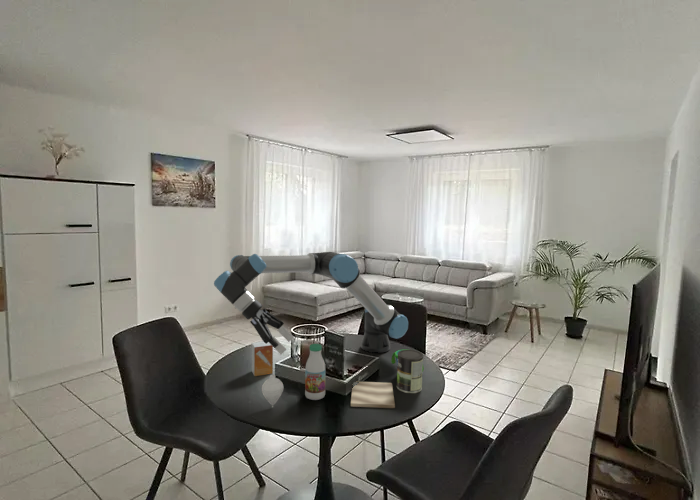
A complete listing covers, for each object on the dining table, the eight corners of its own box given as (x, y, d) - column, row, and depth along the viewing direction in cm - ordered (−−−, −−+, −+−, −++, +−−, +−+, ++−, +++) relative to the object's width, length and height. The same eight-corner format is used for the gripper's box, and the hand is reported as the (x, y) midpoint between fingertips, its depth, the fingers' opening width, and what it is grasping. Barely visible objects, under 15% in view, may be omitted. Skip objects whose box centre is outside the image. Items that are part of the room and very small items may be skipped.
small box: (254, 376, 163) (254, 347, 162) (251, 371, 169) (251, 342, 167) (273, 373, 166) (273, 344, 165) (269, 368, 172) (269, 340, 171)
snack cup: (385, 373, 169) (385, 350, 168) (401, 367, 176) (402, 345, 175) (412, 385, 157) (412, 361, 156) (428, 379, 164) (429, 356, 163)
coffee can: (397, 393, 151) (398, 358, 149) (395, 381, 161) (396, 348, 160) (423, 394, 150) (425, 359, 149) (420, 382, 160) (421, 349, 159)
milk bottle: (304, 391, 150) (304, 342, 148) (323, 390, 152) (324, 341, 150) (306, 401, 143) (306, 349, 141) (326, 399, 144) (327, 348, 142)
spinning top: (278, 400, 143) (278, 369, 142) (286, 409, 137) (286, 377, 136) (258, 405, 139) (258, 373, 138) (266, 415, 133) (266, 381, 132)
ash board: (352, 384, 158) (352, 381, 158) (391, 385, 157) (391, 382, 157) (350, 406, 140) (350, 403, 140) (394, 408, 139) (394, 405, 139)
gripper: (251, 304, 158) (287, 340, 159) (229, 321, 133) (272, 365, 134) (264, 292, 157) (300, 328, 158) (244, 307, 132) (287, 350, 133)
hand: (287, 345), depth 146 cm, fingers open, 13 cm apart
